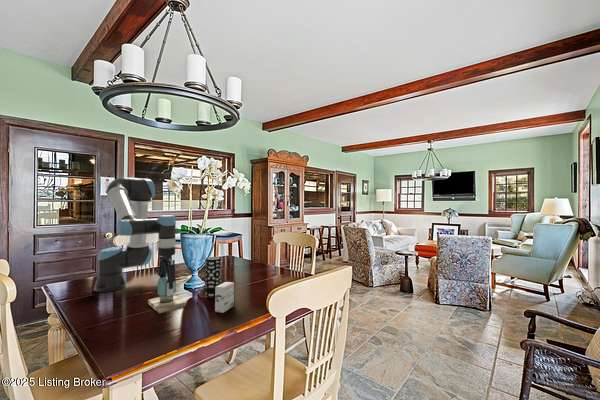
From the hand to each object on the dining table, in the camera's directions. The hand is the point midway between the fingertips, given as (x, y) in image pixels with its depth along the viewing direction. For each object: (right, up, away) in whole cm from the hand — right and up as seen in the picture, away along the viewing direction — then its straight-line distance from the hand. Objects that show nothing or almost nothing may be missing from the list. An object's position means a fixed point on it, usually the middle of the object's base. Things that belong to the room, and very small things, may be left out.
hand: (166, 293), depth 135 cm
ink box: (+30, -6, -4) cm, 31 cm away
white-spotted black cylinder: (+18, -6, +14) cm, 24 cm away
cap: (0, 0, 0) cm, 0 cm away
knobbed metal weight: (0, -4, 0) cm, 4 cm away
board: (0, -6, 0) cm, 6 cm away
